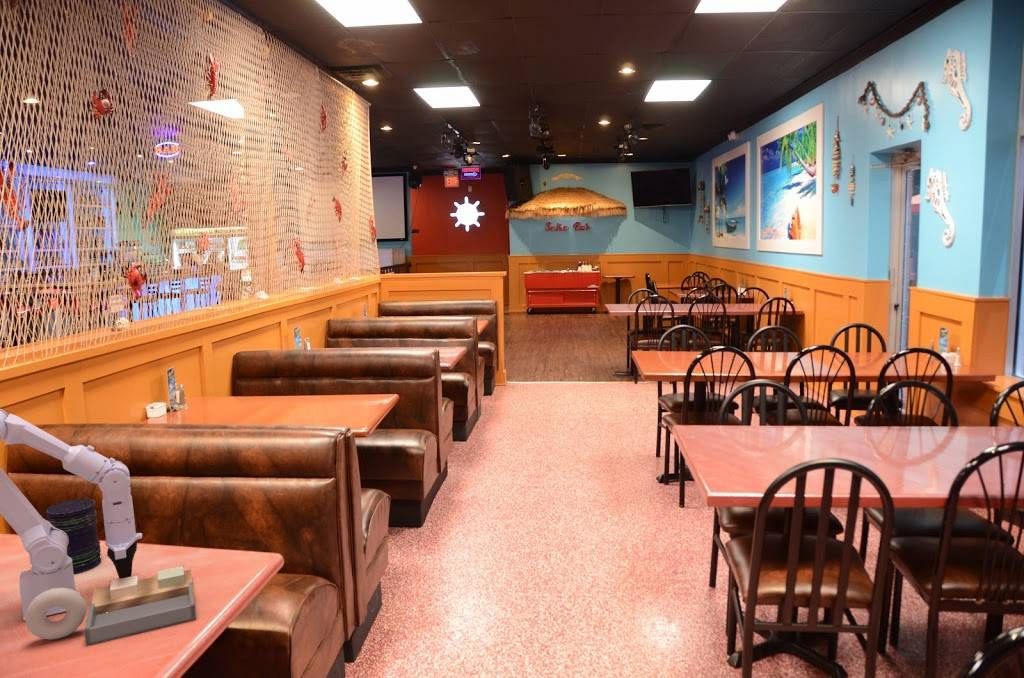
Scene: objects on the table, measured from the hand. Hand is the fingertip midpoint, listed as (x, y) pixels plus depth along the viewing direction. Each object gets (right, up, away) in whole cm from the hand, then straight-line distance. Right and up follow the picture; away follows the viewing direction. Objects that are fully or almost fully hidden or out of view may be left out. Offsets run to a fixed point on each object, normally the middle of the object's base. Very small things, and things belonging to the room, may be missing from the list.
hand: (125, 578), depth 156 cm
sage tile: (+10, -1, -1) cm, 10 cm away
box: (+10, -4, -12) cm, 17 cm away
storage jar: (-19, -2, +14) cm, 23 cm away
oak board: (+6, -3, -3) cm, 7 cm away
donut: (-3, -6, -19) cm, 19 cm away
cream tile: (+2, -1, -5) cm, 5 cm away
